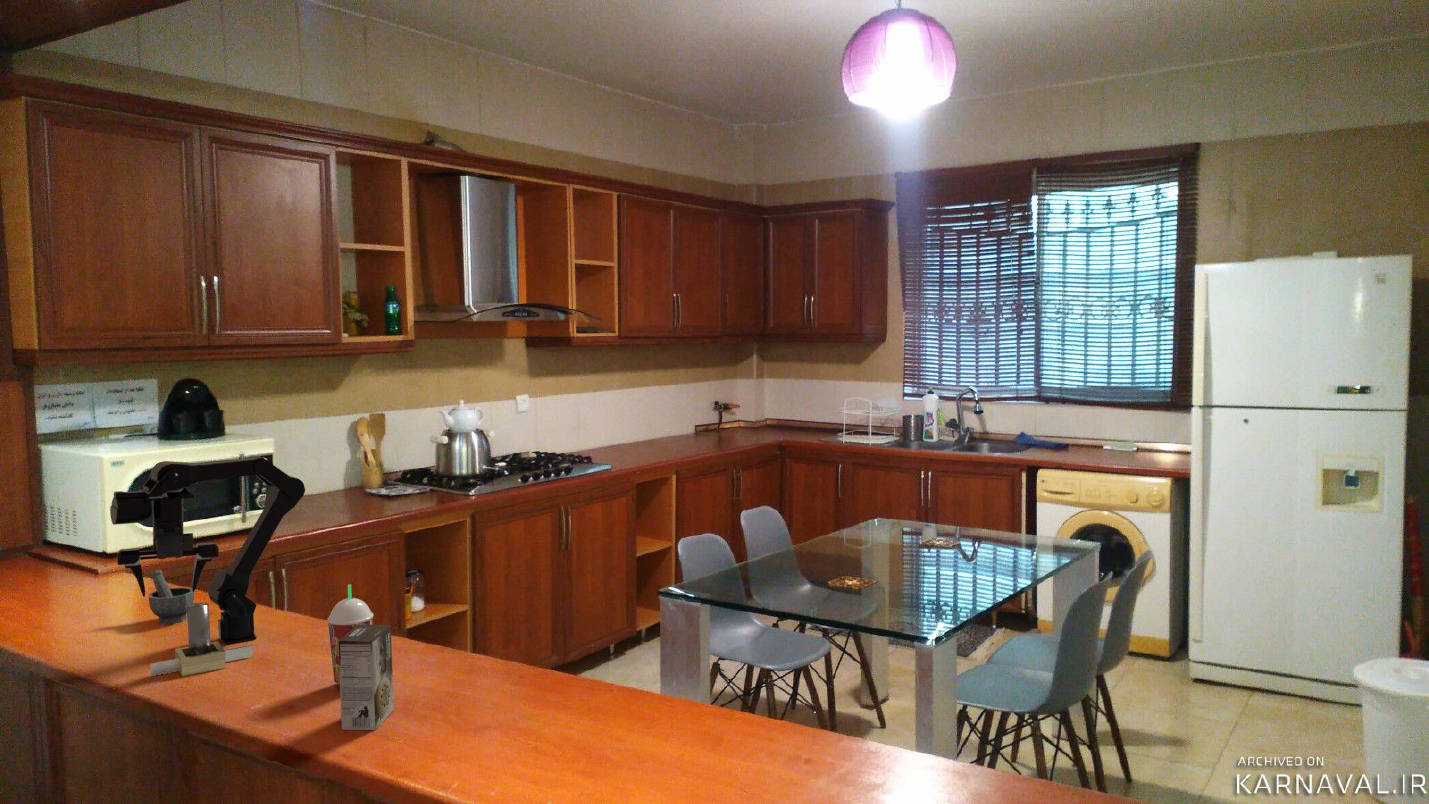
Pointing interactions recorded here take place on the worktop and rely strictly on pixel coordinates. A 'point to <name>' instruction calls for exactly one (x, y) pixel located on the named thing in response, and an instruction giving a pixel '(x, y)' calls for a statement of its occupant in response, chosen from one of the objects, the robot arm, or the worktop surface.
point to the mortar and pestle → (169, 600)
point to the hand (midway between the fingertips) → (169, 593)
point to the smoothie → (346, 625)
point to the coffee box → (366, 677)
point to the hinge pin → (198, 629)
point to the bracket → (200, 660)
